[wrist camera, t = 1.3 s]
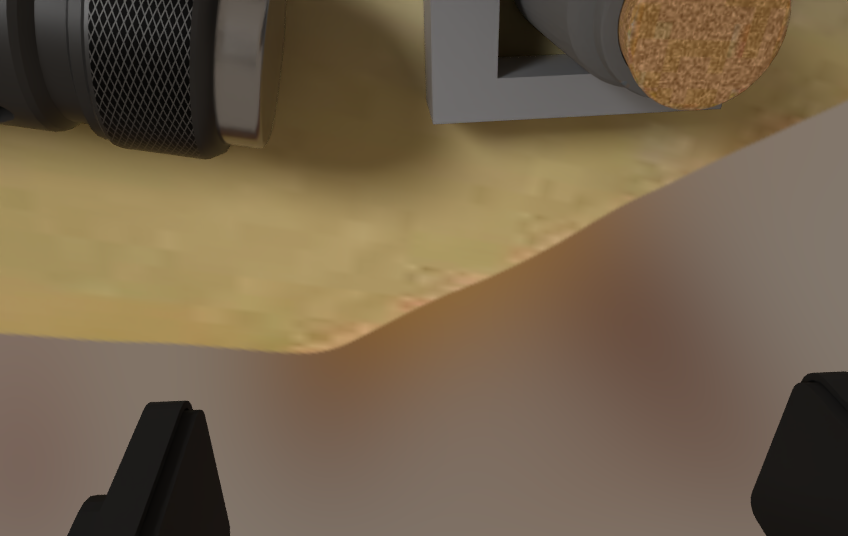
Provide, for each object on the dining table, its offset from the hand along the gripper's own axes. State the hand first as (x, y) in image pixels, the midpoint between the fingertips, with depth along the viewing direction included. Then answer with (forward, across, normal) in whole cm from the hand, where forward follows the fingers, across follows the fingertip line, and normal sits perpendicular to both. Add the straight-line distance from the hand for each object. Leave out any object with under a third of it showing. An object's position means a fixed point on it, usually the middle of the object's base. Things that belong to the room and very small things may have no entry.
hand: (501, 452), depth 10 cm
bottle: (+26, -8, -4) cm, 28 cm away
